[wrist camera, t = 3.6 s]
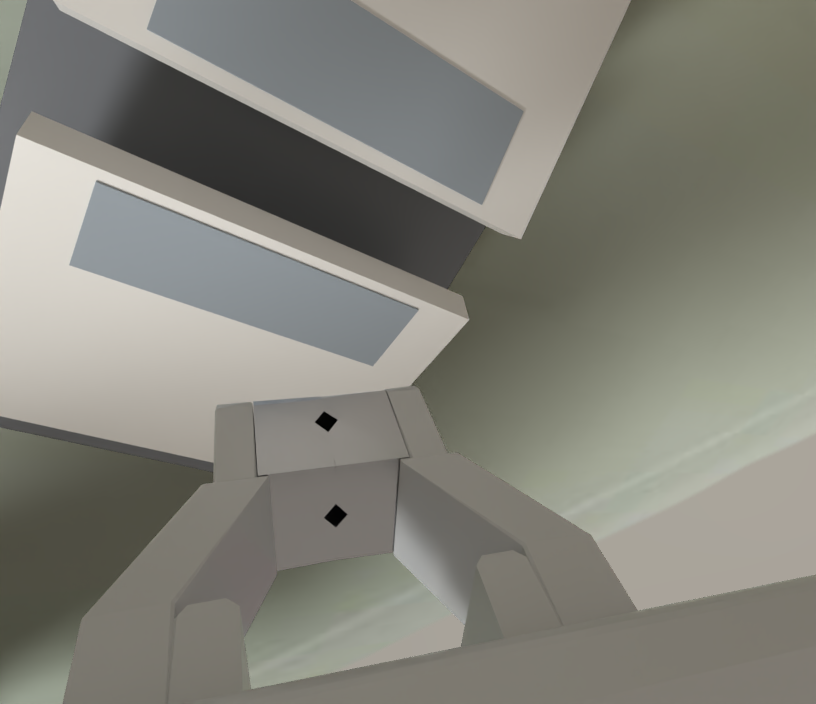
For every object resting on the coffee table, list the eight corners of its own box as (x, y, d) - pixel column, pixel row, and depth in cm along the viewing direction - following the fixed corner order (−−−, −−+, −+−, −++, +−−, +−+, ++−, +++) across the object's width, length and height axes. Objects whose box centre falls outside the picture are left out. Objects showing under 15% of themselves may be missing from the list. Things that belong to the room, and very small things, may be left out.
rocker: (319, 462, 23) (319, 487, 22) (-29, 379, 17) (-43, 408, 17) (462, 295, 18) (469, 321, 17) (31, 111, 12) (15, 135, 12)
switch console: (306, 404, 29) (330, 520, 23) (-17, 312, 23) (-97, 439, 17) (599, -121, 20) (755, -149, 15) (211, -489, 14) (210, -792, 8)
